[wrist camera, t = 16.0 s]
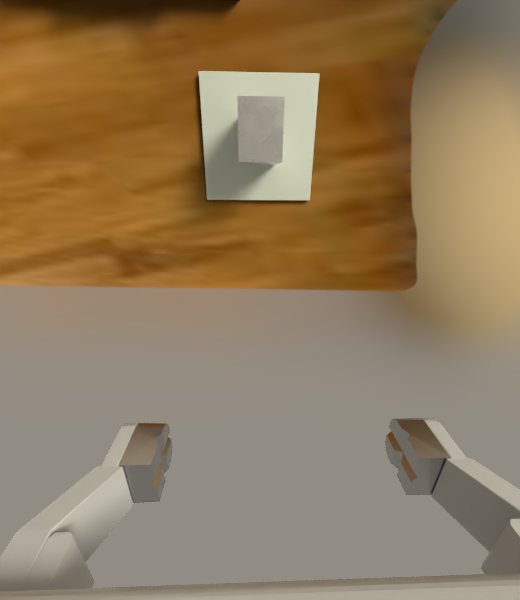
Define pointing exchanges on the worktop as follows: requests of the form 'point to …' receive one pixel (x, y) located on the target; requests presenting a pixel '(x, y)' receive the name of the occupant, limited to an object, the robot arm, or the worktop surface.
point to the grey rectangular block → (260, 129)
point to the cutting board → (224, 135)
